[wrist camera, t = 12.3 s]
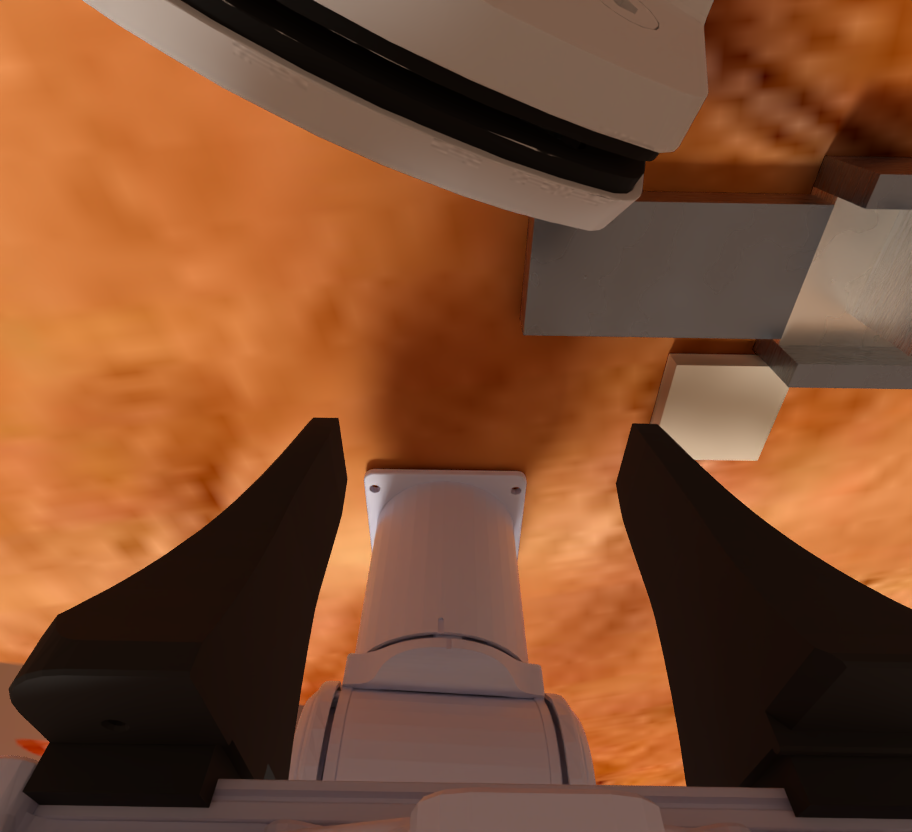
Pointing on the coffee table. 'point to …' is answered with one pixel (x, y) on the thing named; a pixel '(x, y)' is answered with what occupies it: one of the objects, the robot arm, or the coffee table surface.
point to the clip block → (891, 288)
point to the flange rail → (734, 273)
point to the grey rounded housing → (461, 86)
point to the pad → (718, 404)
